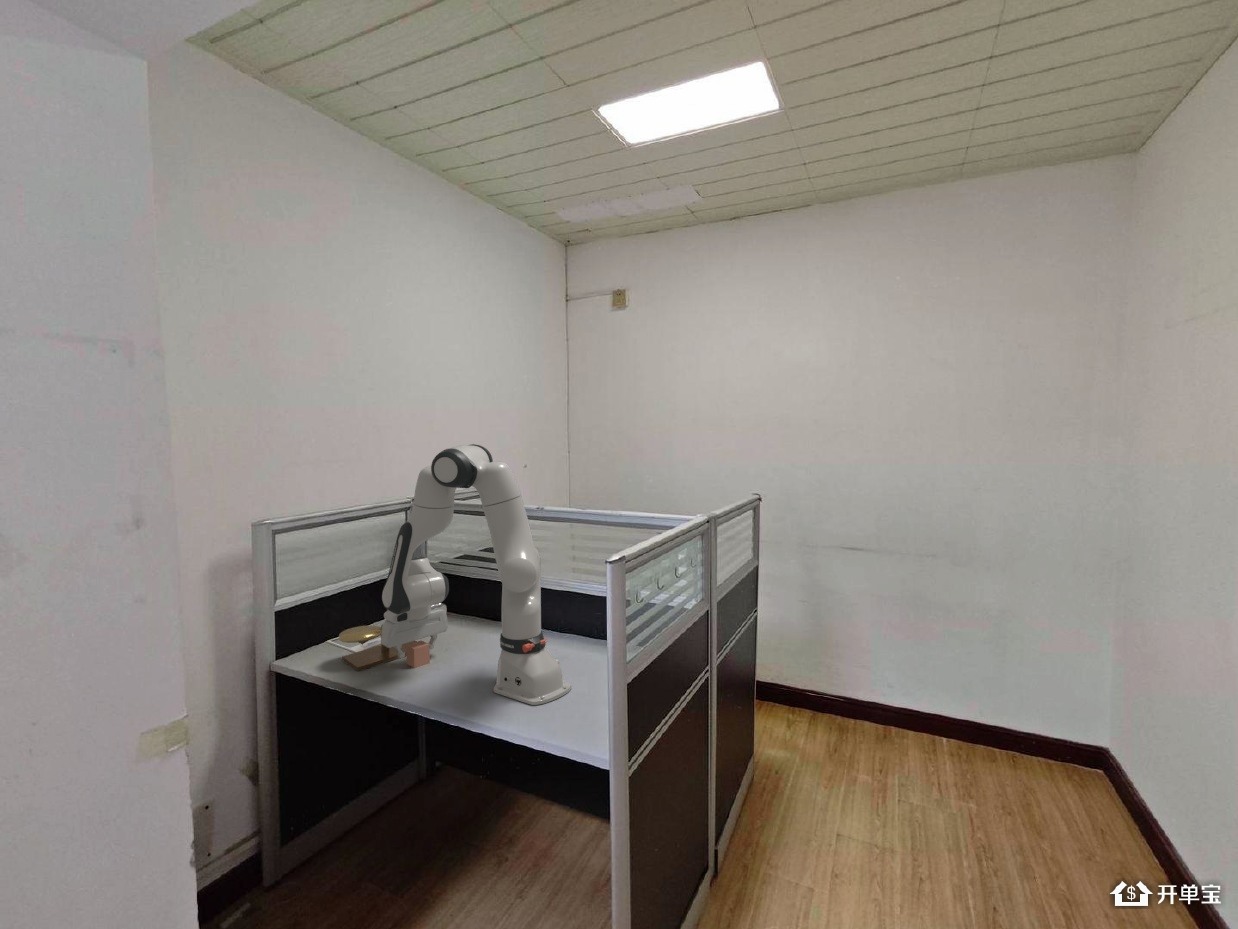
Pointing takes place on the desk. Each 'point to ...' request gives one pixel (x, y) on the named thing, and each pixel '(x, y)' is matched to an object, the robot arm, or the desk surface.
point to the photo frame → (359, 647)
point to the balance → (370, 655)
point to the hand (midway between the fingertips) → (416, 653)
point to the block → (418, 654)
